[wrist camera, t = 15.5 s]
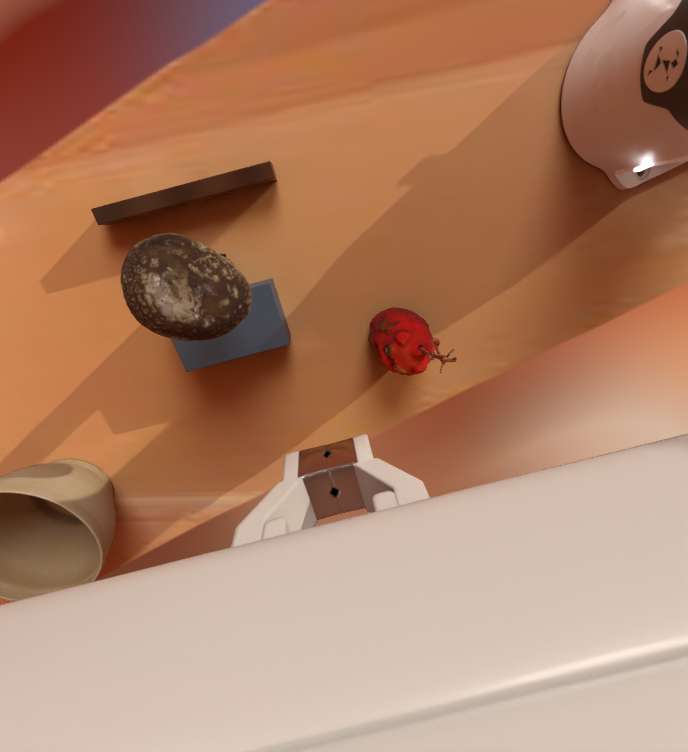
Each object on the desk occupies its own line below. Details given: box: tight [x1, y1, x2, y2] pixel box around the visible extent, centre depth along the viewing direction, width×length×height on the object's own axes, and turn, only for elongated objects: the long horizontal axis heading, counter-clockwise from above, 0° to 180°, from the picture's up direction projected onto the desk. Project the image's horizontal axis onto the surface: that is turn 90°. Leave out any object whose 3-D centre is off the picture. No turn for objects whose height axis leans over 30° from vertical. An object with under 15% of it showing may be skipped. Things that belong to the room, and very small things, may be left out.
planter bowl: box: [0, 459, 116, 601], centre depth 46 cm, size 16×16×11 cm
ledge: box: [91, 161, 277, 225], centre depth 38 cm, size 18×2×2 cm, turn 104°
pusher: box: [172, 279, 291, 372], centre depth 43 cm, size 12×7×4 cm, turn 104°
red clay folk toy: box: [368, 308, 457, 376], centre depth 40 cm, size 8×7×15 cm
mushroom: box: [121, 233, 252, 341], centre depth 35 cm, size 9×9×15 cm
